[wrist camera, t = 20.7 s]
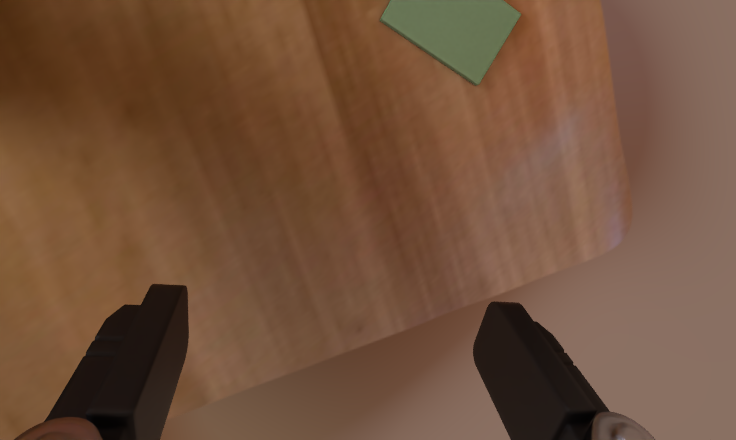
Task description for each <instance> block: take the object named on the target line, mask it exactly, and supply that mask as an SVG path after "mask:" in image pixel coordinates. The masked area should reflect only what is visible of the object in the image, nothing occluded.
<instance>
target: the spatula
mask: <svg viewBox="0 0 736 440" xmlns="http://www.w3.org/2000/svg"><path fill="white" fill-rule="evenodd" d="M520 16H521V13H519V12H518V11H517V10H515V9H514V8H513V7H511V6H510V5H509V4H507V3H506V2H505V1H503V0H391V1H390V2H389V4H388V6H387V8H386V10H385V11H384V13H383V15H382V17H381V19H380V21H381V22H382V23H384V24H385V25H387V26H388V27H390V28H391V29H392V30H394V31H395V32H397V33H398V34H400V35H401V36H403V37H404V38H406V39H407V40H409V41H410V42H412V43H413V44H415V45H416V46H418V47H419V48H421V49H422V50H424V51H425V52H426V53H428V54H429V55H431V56H432V57H434V58H435V59H437V60H438V61H440V62H441V63H443V64H444V65H446V66H447V67H449V68H450V69H452V70H453V71H455V72H456V73H458V74H459V75H460V76H462V77H463V78H465V79H466V80H468V81H469V82H471V83H472V84H474V85H479V84H480V82H481V80H482V79H483V77H484V75H485V74H486V72H487V70H488V69H489V67H490V65H491V64H492V62H493V60H494V59H495V57H496V55H497V54H498V52H499V50H500V49H501V47H502V45H503V44H504V42H505V41H506V39H507V37H508V36H509V34H510V32H511V31H512V29H513V27H514V26H515V24H516V22H517V21H518V19H519V17H520Z"/></svg>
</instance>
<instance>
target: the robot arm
mask: <svg viewBox="0 0 736 440" xmlns="http://www.w3.org/2000/svg"><path fill="white" fill-rule="evenodd" d="M188 338H189V327H188V292H187V287H186V286H184V285H164V284H152V285H151V286H150V288H149V290H148V292H147V294H146V296H145V298H144V300H143V302H142V304H141V305H124V306H122V307H121V308H120V309H118V310H117V311H116V312H115V313H113V314H112V315H111V316H110V317H108V318H107V319H106V320H105V322H104V323H103V325H102V327H101V328H100V330H99V332H98V333H97V335H96V337H95V341H93V342H92V343H91V345H90V347H89V348H88V350H87V352H86V356H84V357H83V358H82V360H81V362H80V363H79V365H78V367H77V369H76V370H75V372H74V374H73V375H72V377H71V379H70V380H69V382H68V384H67V385H66V387H65V389H64V390H63V392H62V394H61V395H60V397H59V399H58V400H57V402H56V404H55V405H54V407H53V409H52V410H51V412H50V414H49V416H48V417H47V418H46V420H45V421H44V422H43V423H41V424H38V425H36V426H34V427H32V428H30V429H28V430H27V431H25V432H24V433H22V434H21V435H19V436H18V437H17V438H16V439H14V440H160V437H161V434H162V431H163V428H164V425H165V422H166V418H167V415H168V412H169V409H170V406H171V402H172V399H173V396H174V393H175V390H176V386H177V383H178V380H179V377H180V374H181V371H182V367H183V364H184V361H185V357H186V353H187V347H188ZM473 356H474V361H475V365H476V367H477V369H478V371H479V373H480V375H481V378H482V380H483V382H484V384H485V386H486V388H487V390H488V392H489V394H490V397H491V399H492V401H493V403H494V405H495V407H496V409H497V411H498V413H499V415H500V418H501V420H502V422H503V424H504V426H505V428H506V430H507V432H508V435H509V436H510V439H511V440H655V439H654V437H653V436H652V435H651V434H650V433H649V432H648V431H647V430H646V429H645V428H643V427H642V426H641V425H640V424H638V423H637V422H635V421H634V420H632V419H630V418H628V417H626V416H624V415H621V414H618V413H614V412H610V411H609V410H608V408H607V407H606V406H605V404H604V403H603V402H602V400H601V399H600V398H599V396H598V395H597V394H596V392H595V391H594V390H593V388H592V387H591V386H590V384H589V383H588V382H587V380H586V379H585V377H584V376H583V375H582V373H581V372H580V371H579V370H578V368H577V367H576V366H574V365H573V361H572V360H571V359H570V357H569V356H568V355H567V353H564V349H563V348H562V346H561V345H560V344H559V342H558V341H557V340H556V339H555V338H554V336H553V335H552V334H551V333H550V332H548V331H547V330H546V329H545V328H544V327H542V326H541V325H540V324H539V323H538V322H534V321H533V320H532V319H531V317H530V316H529V314H528V313H527V311H526V310H525V309H524V307H523V306H522V305H521V304H520V303H513V302H491V303H490V304H489V305H488V307H487V310H486V312H485V315H484V318H483V320H482V323H481V326H480V329H479V331H478V334H477V337H476V340H475V342H474V347H473Z"/></svg>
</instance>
